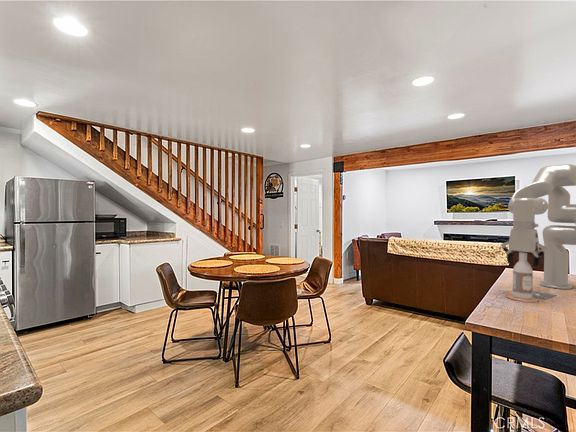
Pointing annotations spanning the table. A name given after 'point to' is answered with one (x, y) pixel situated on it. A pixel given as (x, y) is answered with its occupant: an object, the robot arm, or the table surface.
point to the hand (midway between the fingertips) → (522, 264)
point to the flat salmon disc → (522, 299)
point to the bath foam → (522, 278)
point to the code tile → (541, 295)
